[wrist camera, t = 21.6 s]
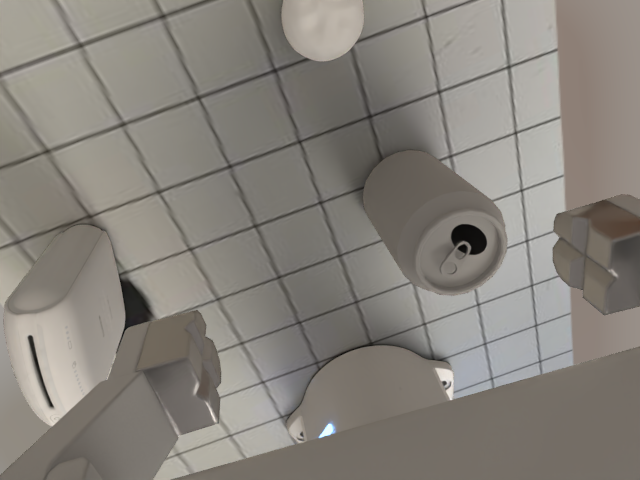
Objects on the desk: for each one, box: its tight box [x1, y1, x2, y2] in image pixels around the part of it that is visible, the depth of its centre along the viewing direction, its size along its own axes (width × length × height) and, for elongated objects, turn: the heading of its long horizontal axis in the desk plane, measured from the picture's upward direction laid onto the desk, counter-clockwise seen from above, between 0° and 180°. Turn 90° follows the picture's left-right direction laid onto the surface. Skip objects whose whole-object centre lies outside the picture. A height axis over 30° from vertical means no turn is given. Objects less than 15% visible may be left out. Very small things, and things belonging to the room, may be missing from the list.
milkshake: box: [281, 0, 364, 61], centre depth 27 cm, size 4×5×10 cm
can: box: [363, 150, 507, 296], centre depth 34 cm, size 8×8×12 cm
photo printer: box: [3, 225, 125, 427], centre depth 33 cm, size 10×4×12 cm, turn 178°
